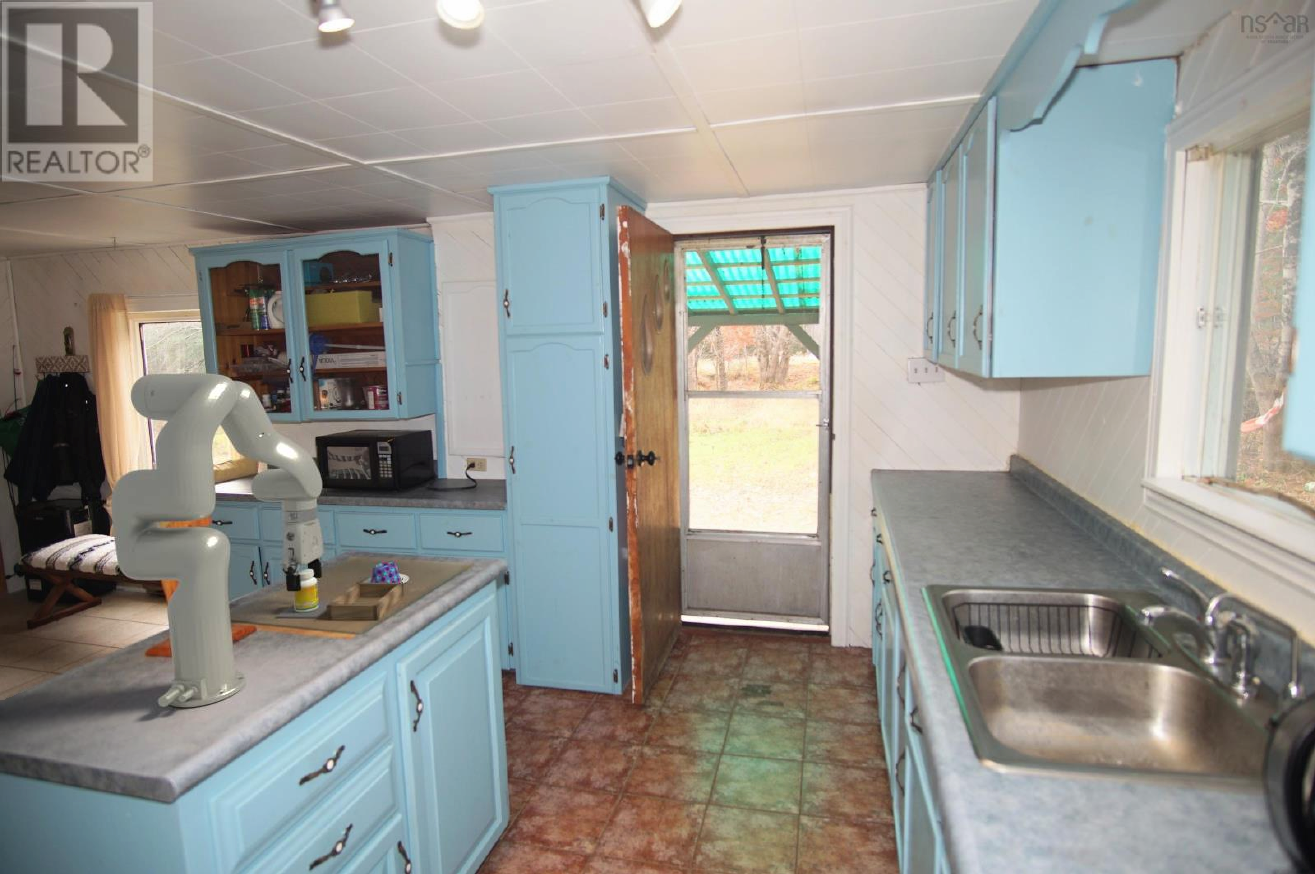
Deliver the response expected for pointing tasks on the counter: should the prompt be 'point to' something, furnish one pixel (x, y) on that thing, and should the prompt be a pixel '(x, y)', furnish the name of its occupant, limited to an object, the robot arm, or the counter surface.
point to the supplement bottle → (306, 592)
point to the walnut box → (349, 611)
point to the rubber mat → (312, 614)
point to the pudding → (386, 574)
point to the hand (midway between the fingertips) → (304, 584)
